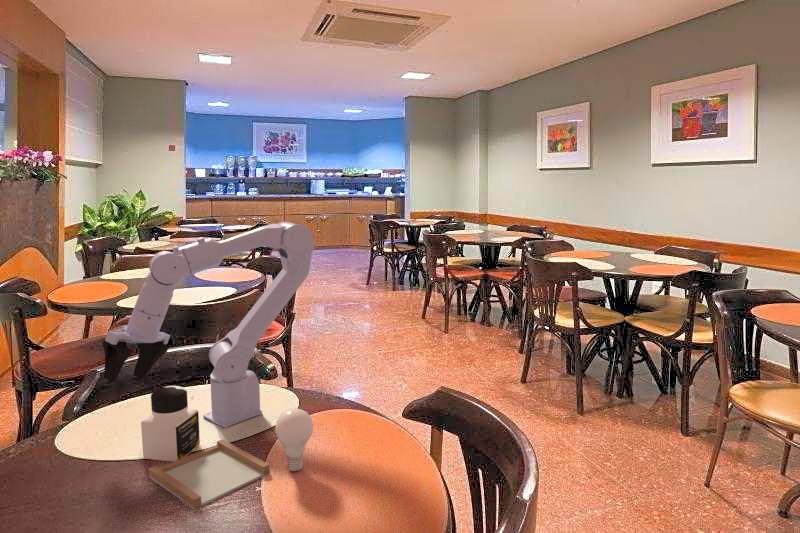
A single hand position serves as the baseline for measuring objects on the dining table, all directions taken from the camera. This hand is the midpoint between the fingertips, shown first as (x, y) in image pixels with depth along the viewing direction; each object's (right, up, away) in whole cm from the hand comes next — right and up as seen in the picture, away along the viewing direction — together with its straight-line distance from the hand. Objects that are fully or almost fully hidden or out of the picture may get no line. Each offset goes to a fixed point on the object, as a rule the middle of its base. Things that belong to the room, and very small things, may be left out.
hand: (124, 378), depth 106 cm
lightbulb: (+35, -14, -10) cm, 39 cm away
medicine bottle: (+11, -13, -4) cm, 17 cm away
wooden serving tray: (+21, -14, -12) cm, 28 cm away
